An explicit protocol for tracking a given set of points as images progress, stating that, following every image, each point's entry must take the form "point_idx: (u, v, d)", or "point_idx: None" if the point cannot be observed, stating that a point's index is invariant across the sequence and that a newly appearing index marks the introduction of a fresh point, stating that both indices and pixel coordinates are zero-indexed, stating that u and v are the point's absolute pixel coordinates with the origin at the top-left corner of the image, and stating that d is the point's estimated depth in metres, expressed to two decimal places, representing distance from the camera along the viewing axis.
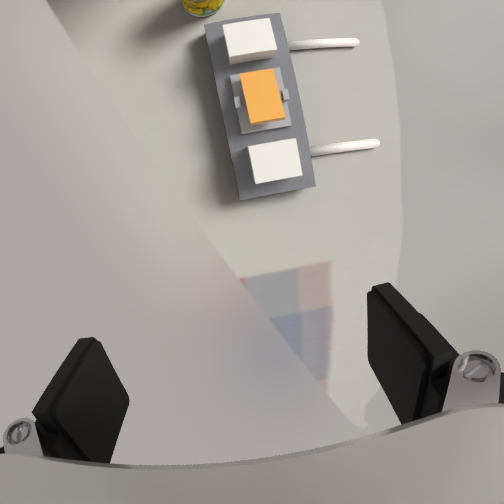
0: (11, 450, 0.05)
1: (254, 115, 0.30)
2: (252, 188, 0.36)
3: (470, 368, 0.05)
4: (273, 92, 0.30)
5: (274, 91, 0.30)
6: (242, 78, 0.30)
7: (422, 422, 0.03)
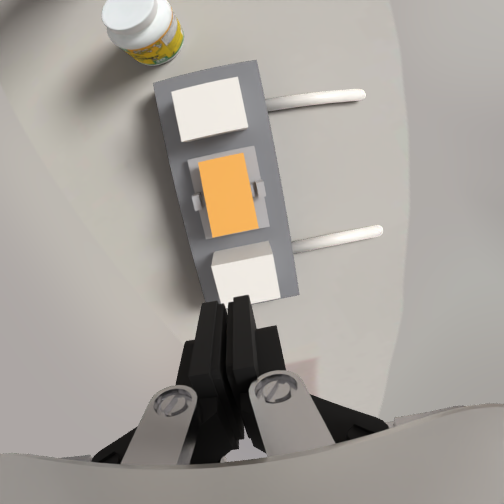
0: (172, 423, 0.06)
1: (217, 226, 0.24)
2: None
3: (269, 391, 0.06)
4: (243, 191, 0.24)
5: (244, 189, 0.24)
6: (201, 169, 0.24)
7: (422, 422, 0.03)
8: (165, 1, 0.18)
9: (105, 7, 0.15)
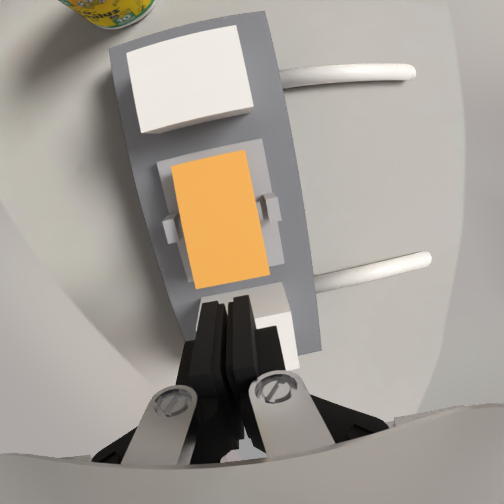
0: (173, 423, 0.06)
1: (202, 272, 0.15)
2: None
3: (269, 392, 0.06)
4: (245, 213, 0.15)
5: (247, 210, 0.15)
6: (177, 178, 0.15)
7: (422, 422, 0.03)
8: None
9: None
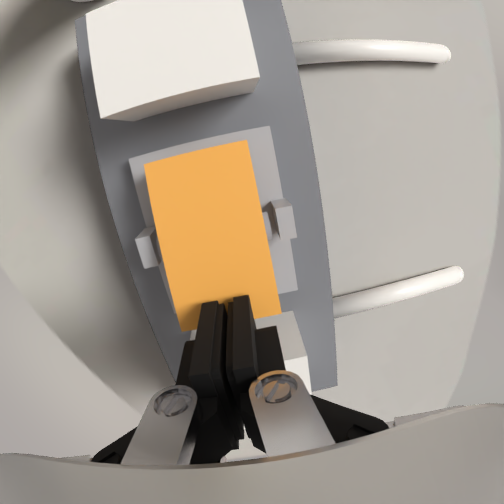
0: (172, 423, 0.06)
1: (189, 310, 0.11)
2: None
3: (269, 392, 0.06)
4: (247, 230, 0.11)
5: (250, 226, 0.11)
6: (152, 180, 0.10)
7: (422, 422, 0.03)
8: None
9: None
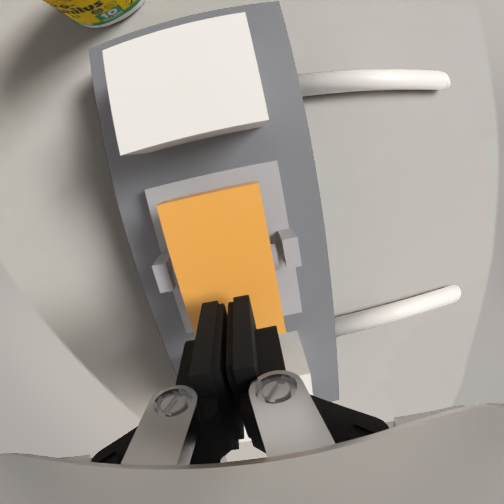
0: (172, 423, 0.06)
1: None
2: None
3: (269, 391, 0.06)
4: (258, 267, 0.12)
5: (261, 263, 0.12)
6: (166, 221, 0.11)
7: (422, 422, 0.03)
8: None
9: None
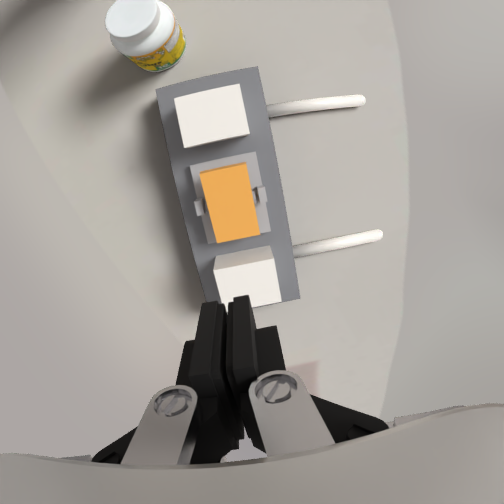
0: (172, 423, 0.06)
1: (221, 234, 0.26)
2: None
3: (269, 392, 0.06)
4: (246, 201, 0.25)
5: (247, 200, 0.25)
6: (203, 181, 0.24)
7: (422, 422, 0.03)
8: (167, 8, 0.18)
9: (108, 14, 0.16)
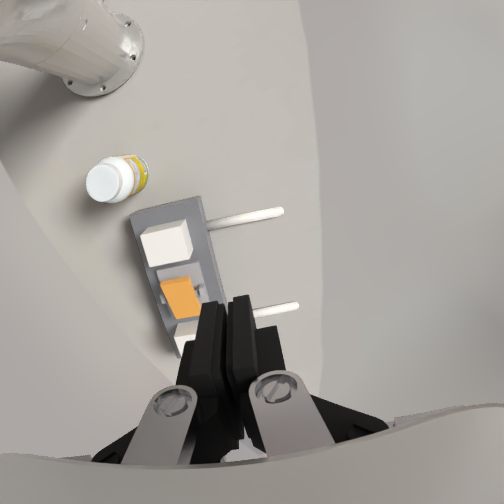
0: (172, 423, 0.06)
1: (178, 314, 0.40)
2: None
3: (269, 391, 0.06)
4: (191, 299, 0.38)
5: (192, 298, 0.38)
6: (163, 289, 0.37)
7: (422, 422, 0.03)
8: (128, 168, 0.32)
9: (87, 181, 0.30)
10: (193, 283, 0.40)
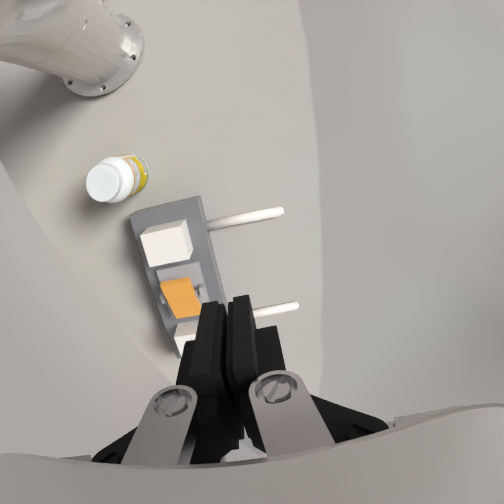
0: (172, 423, 0.06)
1: (178, 314, 0.40)
2: None
3: (269, 392, 0.06)
4: (191, 299, 0.39)
5: (192, 298, 0.38)
6: (163, 290, 0.37)
7: (422, 422, 0.03)
8: (128, 168, 0.32)
9: (87, 181, 0.30)
10: (193, 283, 0.40)
